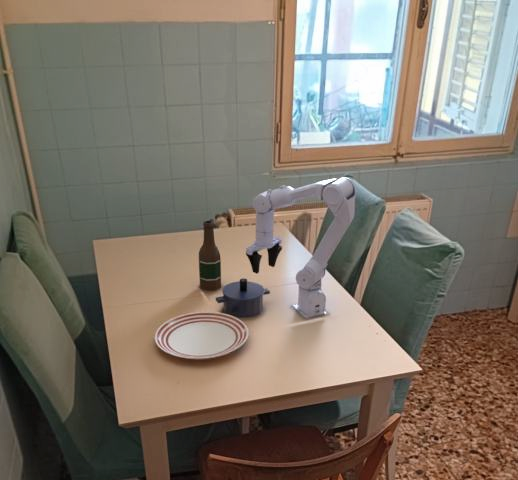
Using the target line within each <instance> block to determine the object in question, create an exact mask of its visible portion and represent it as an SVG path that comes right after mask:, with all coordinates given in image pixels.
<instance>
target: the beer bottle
mask: <svg viewBox="0 0 518 480" xmlns="http://www.w3.org/2000/svg"><path fill="white" fill-rule="evenodd" d="M214 226H215V224H214V221H213V220H204V221H203V223H202V227H203V242H202V245H201V247H200V248H199V251H198V269H199V270H198V272H199V287H200V290H203V291H205V292H206V291H207V292H213V291H217V290H220V289H221V288H222V266H221V265H222V263H221V261H222V259H221V253H220V250H219V248H218V246H217V245H216V242H215V241H216V240H215V231H214Z"/></svg>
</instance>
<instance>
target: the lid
mask: <svg viewBox="0 0 518 480" xmlns="http://www.w3.org/2000/svg"><path fill="white" fill-rule="evenodd" d="M264 289H265V288H264V286H262V285H261V284H259V283H257V282H254V281H249V280H248V278H245V277H244V278H243V277H242V278H240V279H239V281H233V282H230V283H227V284H225V285H224V286H223V288H222V291H221V292H222V296H223V295H224V296H226V297H227V298H229V299H232V300H238V301H250V300H255V299H258V298H260V297H262V296H263V297H264V296H265V295H264V292H265V290H264Z"/></svg>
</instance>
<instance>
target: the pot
mask: <svg viewBox="0 0 518 480" xmlns="http://www.w3.org/2000/svg"><path fill="white" fill-rule="evenodd" d="M264 290H265V292H264V295H263V296H262V297H260V298H258V299H255V300H250V301H238V300H232V299H229V298H227V297H226V296H224V295H223V294H222V295H221V296H217V297H215V301H216V303H217V304H222V303H223V312H224V314H228V315H231V316H234V317H236V318H238V319H248V318H253V317H256V316H258V315H260V314H261V313H262V312H263V307H264V306H263V303H264V302H263V299H264V298H263V297H264V296H265V295H270V294H271V290H269V289H268V287H266V288H264Z"/></svg>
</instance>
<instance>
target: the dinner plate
mask: <svg viewBox="0 0 518 480" xmlns="http://www.w3.org/2000/svg"><path fill="white" fill-rule="evenodd" d="M249 335H250V334H249V328H248V326H247V325H246V323H245V322H243V321H242V320H241V319H240V318H237V317H234V316H231V315H228V314H226V313H225V312H216V311H197V312H189V313H184V314H181V315H180V314H179V316H178V315H177V316H175V317H172V318H171V319H168V320H167V321H164V322H163V323H162V324H161V325H160V326H159V327H158V328H157V329H156V331H155V334H154V342H155V345H156V346H157V347H158V348H159V349H160V350H161V351H163V352H164V353H166V354H168V355H171V356H173V357H177V358H182V359H187V360H209V359H216V358H219V357H223V356H226V355H228V354H231V353H233V352H234V351H237V350H238V349H239V348H241V347H242V346H243V345H244V344H245V343H246V341H247V340H248V338H249Z"/></svg>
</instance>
